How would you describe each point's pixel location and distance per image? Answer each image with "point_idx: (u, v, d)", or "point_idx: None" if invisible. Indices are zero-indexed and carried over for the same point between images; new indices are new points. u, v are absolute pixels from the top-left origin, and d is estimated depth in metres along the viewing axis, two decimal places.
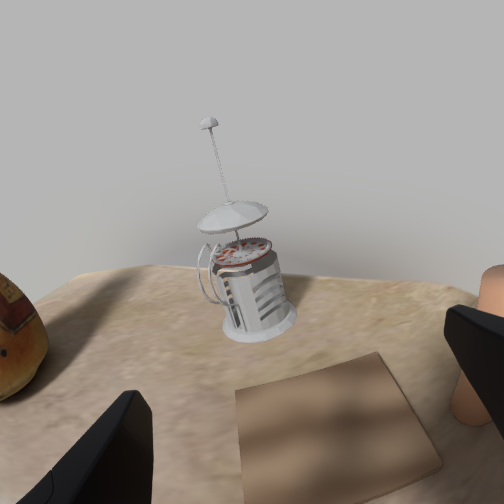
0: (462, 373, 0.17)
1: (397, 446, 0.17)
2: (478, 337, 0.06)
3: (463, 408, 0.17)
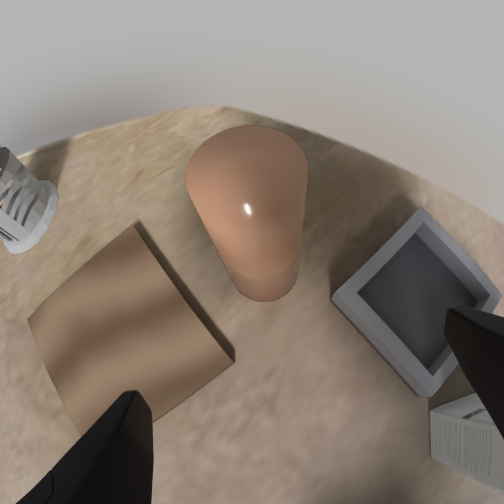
0: None
1: (176, 346, 0.20)
2: (478, 337, 0.06)
3: (241, 289, 0.21)
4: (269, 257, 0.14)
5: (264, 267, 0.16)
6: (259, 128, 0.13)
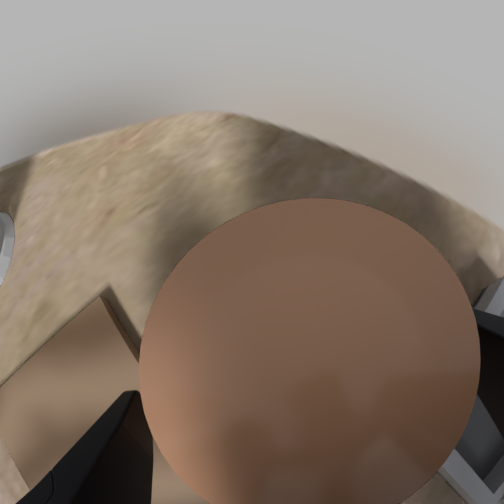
0: None
1: (170, 478, 0.12)
2: None
3: None
4: None
5: None
6: (349, 210, 0.05)
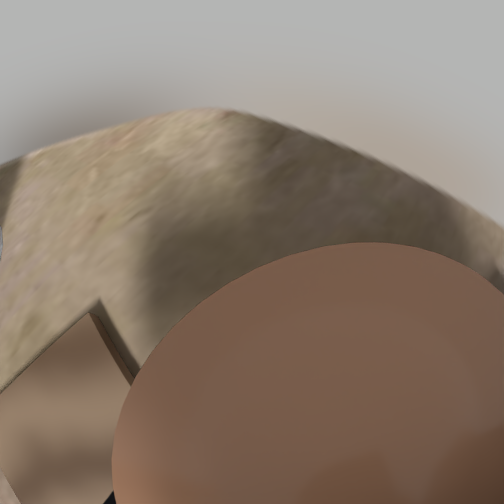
0: None
1: None
2: None
3: None
4: None
5: None
6: (417, 261, 0.03)
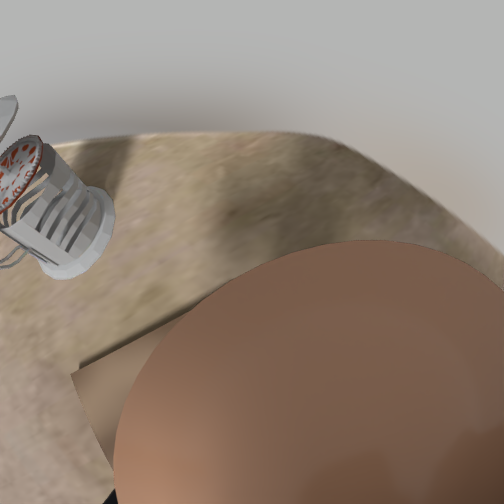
0: None
1: None
2: None
3: None
4: None
5: None
6: (418, 259, 0.03)
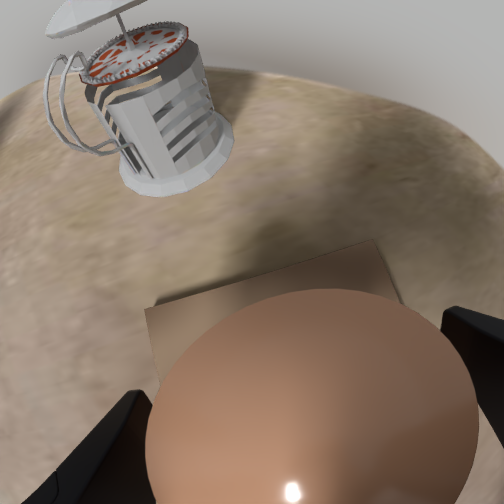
0: None
1: None
2: (474, 339, 0.06)
3: None
4: None
5: None
6: (361, 302, 0.04)
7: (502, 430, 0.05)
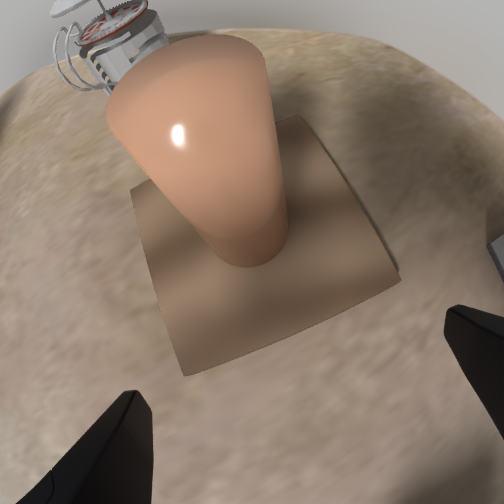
0: None
1: (341, 249, 0.18)
2: (478, 337, 0.06)
3: (220, 254, 0.17)
4: (236, 200, 0.10)
5: (234, 216, 0.11)
6: (199, 37, 0.08)
7: None
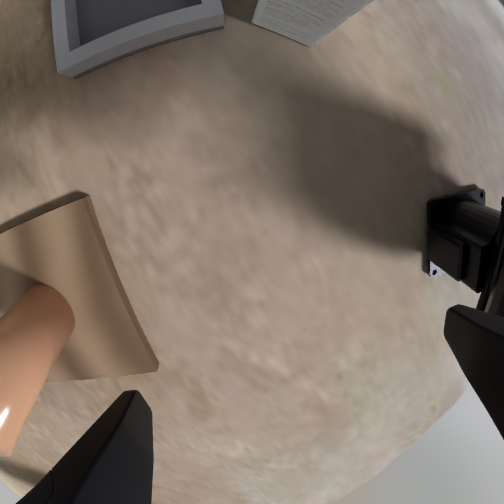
0: None
1: (57, 247, 0.18)
2: (478, 337, 0.06)
3: (65, 342, 0.19)
4: (21, 382, 0.12)
5: (31, 373, 0.13)
6: None
7: None
